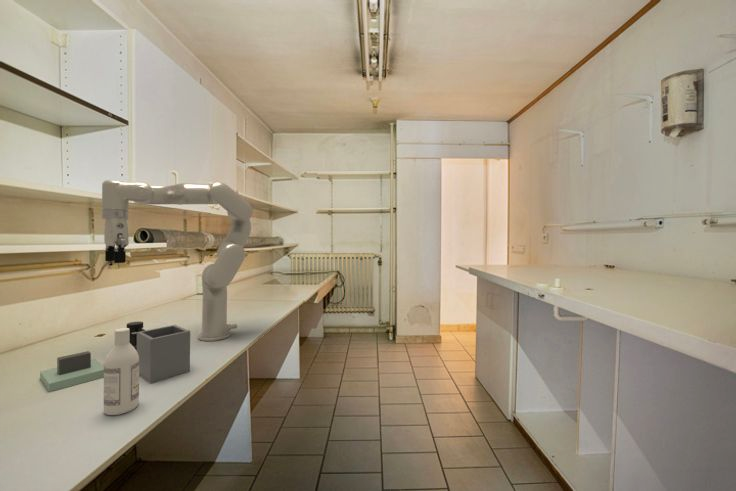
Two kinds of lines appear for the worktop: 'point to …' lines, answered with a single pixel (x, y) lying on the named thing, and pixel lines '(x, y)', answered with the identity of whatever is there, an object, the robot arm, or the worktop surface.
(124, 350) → the bath foam
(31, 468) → the worktop surface
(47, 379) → the lid
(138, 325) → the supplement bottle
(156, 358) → the grey open storage bin
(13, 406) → the worktop surface
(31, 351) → the worktop surface
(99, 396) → the worktop surface
